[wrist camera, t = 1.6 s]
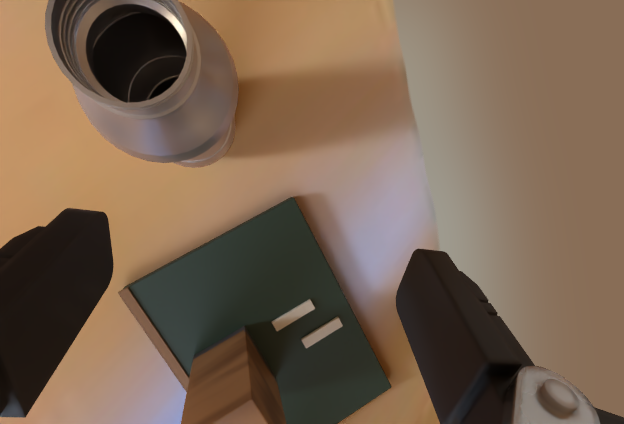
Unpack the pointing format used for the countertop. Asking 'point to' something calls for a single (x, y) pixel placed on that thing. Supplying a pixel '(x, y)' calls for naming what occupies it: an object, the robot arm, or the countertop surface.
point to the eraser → (232, 385)
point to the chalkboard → (263, 314)
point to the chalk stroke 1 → (293, 315)
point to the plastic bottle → (148, 76)
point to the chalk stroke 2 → (321, 332)
